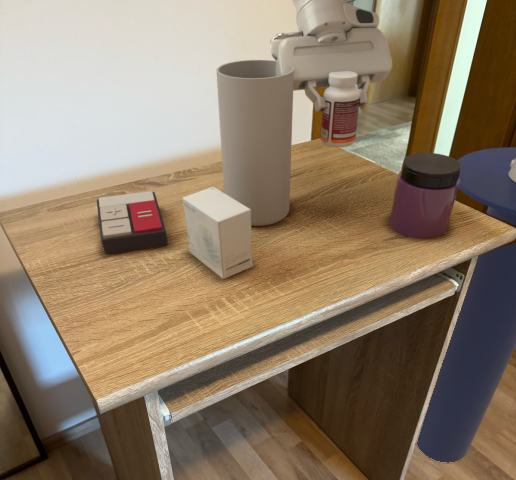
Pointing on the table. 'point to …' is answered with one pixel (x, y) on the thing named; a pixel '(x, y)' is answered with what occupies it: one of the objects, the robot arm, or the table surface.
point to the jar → (421, 209)
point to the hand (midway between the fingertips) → (342, 107)
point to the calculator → (130, 222)
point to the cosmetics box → (219, 231)
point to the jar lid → (430, 170)
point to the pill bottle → (340, 110)
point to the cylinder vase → (256, 136)
